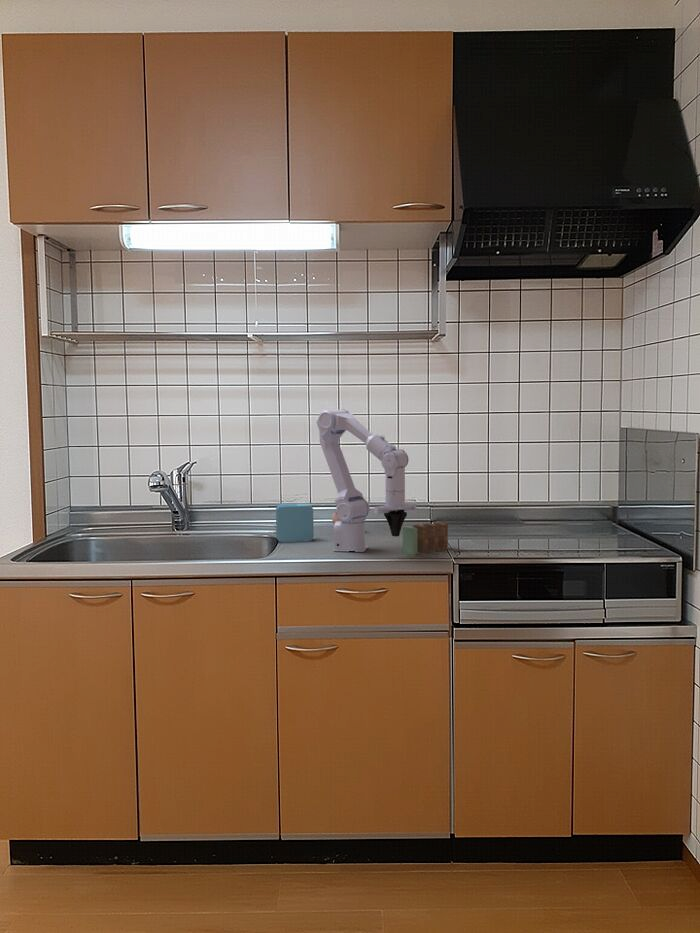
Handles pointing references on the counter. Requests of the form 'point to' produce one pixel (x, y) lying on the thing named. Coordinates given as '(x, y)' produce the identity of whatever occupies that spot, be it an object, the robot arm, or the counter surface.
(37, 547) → the counter surface
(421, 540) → the walnut domino
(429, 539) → the walnut domino
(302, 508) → the blue square slab
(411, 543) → the green domino
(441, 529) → the walnut domino
